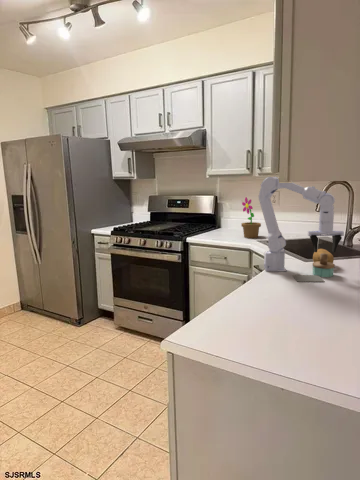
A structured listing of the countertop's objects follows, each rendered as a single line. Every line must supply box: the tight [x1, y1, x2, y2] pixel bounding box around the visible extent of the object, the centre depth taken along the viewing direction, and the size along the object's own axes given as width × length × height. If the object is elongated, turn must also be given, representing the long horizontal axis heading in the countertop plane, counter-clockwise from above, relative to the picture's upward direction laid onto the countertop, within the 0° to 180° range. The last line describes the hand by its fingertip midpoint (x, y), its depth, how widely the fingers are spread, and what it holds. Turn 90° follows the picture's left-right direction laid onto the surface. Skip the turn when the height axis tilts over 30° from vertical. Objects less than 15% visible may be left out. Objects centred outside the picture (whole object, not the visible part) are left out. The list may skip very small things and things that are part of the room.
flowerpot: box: [241, 196, 262, 239], centre depth 241 cm, size 14×14×30 cm
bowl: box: [312, 265, 335, 278], centre depth 146 cm, size 8×8×4 cm
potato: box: [312, 248, 335, 264], centre depth 158 cm, size 10×14×8 cm
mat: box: [292, 274, 325, 283], centre depth 140 cm, size 11×9×1 cm
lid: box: [312, 253, 336, 269], centre depth 144 cm, size 9×9×6 cm
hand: (324, 251), depth 144 cm, fingers open, 7 cm apart
